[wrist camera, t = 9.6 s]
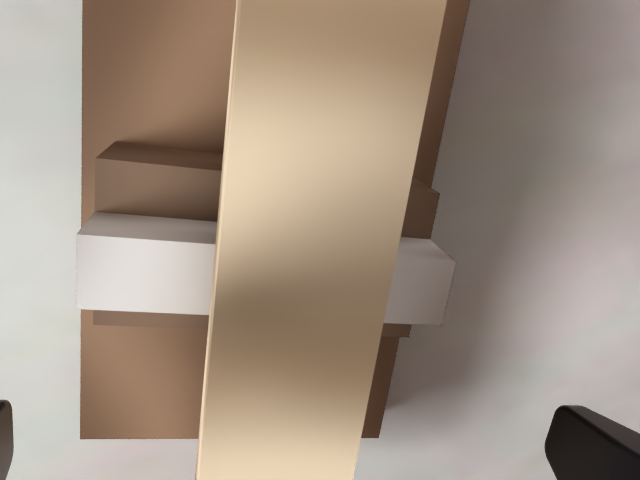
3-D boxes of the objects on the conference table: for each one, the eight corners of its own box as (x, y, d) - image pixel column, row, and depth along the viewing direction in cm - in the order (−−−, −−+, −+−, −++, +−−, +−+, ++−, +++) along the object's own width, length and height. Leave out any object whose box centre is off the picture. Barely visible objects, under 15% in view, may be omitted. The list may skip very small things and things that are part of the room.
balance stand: (454, -12, 19) (566, -45, 13) (369, 415, 24) (419, 535, 18) (94, -82, 16) (21, -164, 10) (89, 414, 22) (39, 553, 16)
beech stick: (256, -228, 11) (273, -355, 7) (420, -184, 11) (502, -282, 8) (185, 594, 17) (177, 720, 14) (291, 587, 18) (308, 705, 15)
